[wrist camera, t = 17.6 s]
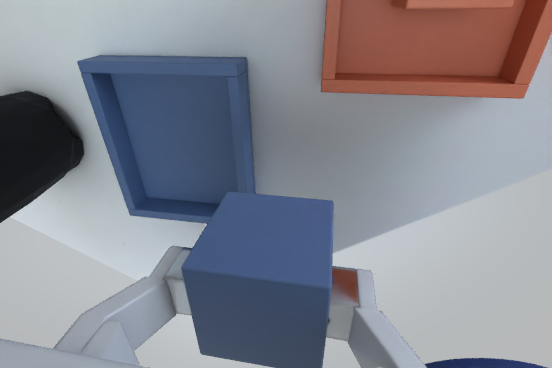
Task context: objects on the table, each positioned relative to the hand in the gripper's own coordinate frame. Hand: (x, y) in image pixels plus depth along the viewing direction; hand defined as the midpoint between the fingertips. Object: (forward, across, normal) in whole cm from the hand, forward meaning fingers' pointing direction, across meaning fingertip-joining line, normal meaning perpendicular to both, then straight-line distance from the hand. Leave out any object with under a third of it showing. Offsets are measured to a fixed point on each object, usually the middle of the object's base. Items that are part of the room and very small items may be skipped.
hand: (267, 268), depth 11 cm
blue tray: (+14, +10, +2) cm, 17 cm away
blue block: (+2, 0, 0) cm, 2 cm away
